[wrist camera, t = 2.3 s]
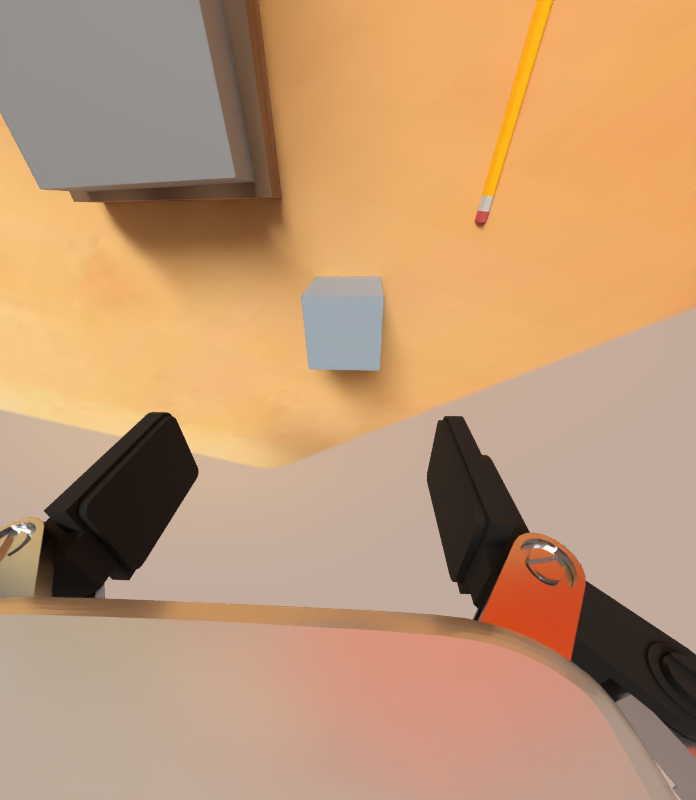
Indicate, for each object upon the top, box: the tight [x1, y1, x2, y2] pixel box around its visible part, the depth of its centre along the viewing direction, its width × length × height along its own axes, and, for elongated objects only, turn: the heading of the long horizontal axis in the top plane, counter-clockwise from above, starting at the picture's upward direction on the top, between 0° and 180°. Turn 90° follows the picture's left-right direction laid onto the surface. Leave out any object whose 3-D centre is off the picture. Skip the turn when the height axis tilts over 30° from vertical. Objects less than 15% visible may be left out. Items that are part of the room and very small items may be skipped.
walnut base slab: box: [69, 0, 282, 202], centre depth 15 cm, size 13×13×3 cm
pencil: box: [475, 0, 554, 223], centre depth 14 cm, size 1×18×1 cm, turn 176°
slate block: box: [301, 277, 384, 371], centre depth 21 cm, size 5×5×6 cm
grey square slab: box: [0, 0, 255, 192], centre depth 13 cm, size 11×11×3 cm
